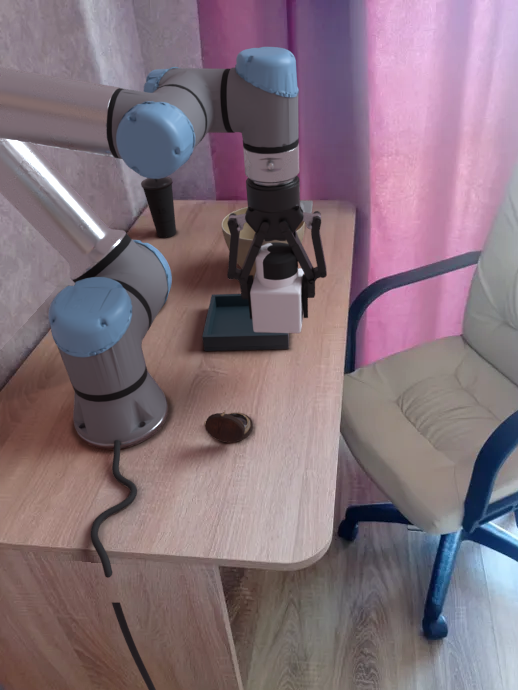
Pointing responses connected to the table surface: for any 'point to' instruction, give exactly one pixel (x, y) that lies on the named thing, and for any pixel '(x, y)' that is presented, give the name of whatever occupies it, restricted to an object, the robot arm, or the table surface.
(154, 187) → the drinking cup
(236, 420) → the compass
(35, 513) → the table surface
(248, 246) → the flower pot
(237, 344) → the tray
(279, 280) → the container
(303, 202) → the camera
